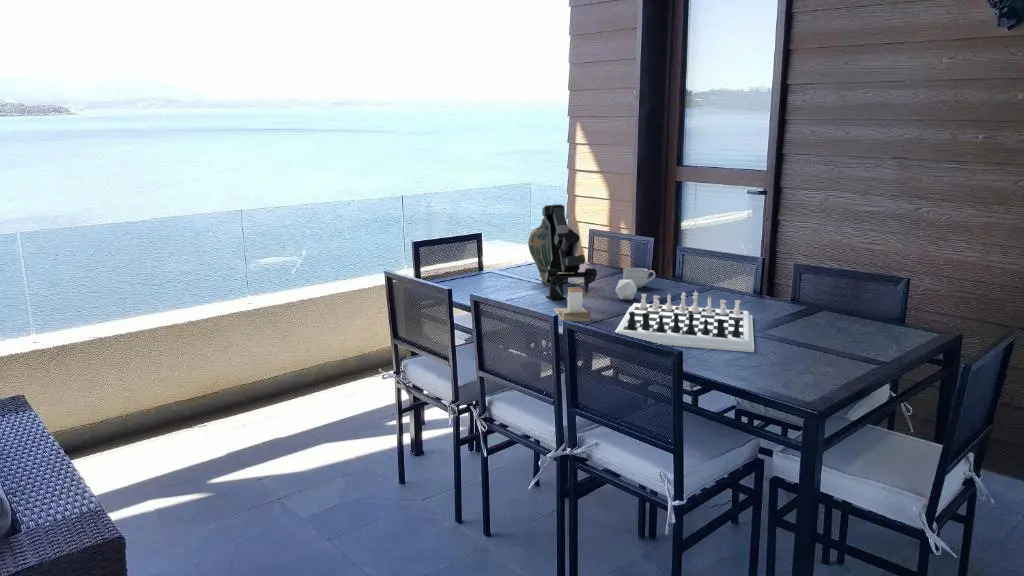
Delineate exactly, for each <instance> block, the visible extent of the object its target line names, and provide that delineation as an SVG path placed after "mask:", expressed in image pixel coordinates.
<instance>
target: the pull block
mask: <svg viewBox="0 0 1024 576" xmlns="http://www.w3.org/2000/svg"><path fill="white" fill-rule="evenodd" d="M583 289H584V288H582V287H581V286H568V287H567V307H566V309H567V313H568V312H582V308H583V293H584V292H583V291H584V290H583Z"/></svg>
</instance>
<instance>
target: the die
mask: <svg viewBox="0 0 1024 576" xmlns="http://www.w3.org/2000/svg"><path fill="white" fill-rule="evenodd" d="M637 290H638V288H637V287H636V286H635V284H634V282H633V281H632V280H623V279H619V280H618V282H617V286H616V288H615V290H614V291H615V292H616V295H617V296H618V299H619V300H633V299H634V297H635V295H636V293H637Z"/></svg>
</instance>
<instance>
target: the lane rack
mask: <svg viewBox="0 0 1024 576" xmlns="http://www.w3.org/2000/svg"><path fill="white" fill-rule="evenodd" d="M553 310H554V311H555V313H556V314H557V315H558V316H559V318H561V320H562V321H563V320H567V321H566V322H586V321H588V322H589V321H590V322H591V321H592V320H591V311H587V310H586V309H585V308H584V307H582V312H568V313H567V308H561V307H560V308H559V307H558V308H553Z"/></svg>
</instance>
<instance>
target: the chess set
mask: <svg viewBox="0 0 1024 576" xmlns="http://www.w3.org/2000/svg"><path fill="white" fill-rule="evenodd" d="M686 295H687V293H685V291H683V292H682V293H681V296H680V298H681V301H680V305H673V304H672V301H671V300H672V299H671V298H672V295H671V293H670V292H668V295H667V298H666V299H667V303H666V304H660V298H661V297H660V295H653V296H652V297H653V298H652V299H653V302H652V303H647V301H646V299H647V293H641V299H640V301H641V302H640V303H638V302H633V303H632V305H631V306H629V308H628V310H627V311H626V312H625V315H624V316H623V317H622V320H620V322H619V324H618V326H617V328H616V329H615V331H614V332H616V333H619V334H623V335H627V336H630V337H634V338H639V339H643V340H647V341H651V342H654V343H658V344H657V345H660V344H662V346H672V345H673V346H674V347H683V348H684V347H686V348H697V349H707V350H709V349H710V350H721V351H733V352H745V353H747V352H748V353H754V352H755V343H754V341H755V339H754V326H753V325H754V324H753V323H754V321H753V314H750V311H748V310H741V309H740V303H741V300H738V299H737V300H736V299H735V300H734V309H727V305H726V303H727V302H728V301H727V300H725V299H720V300H719V304H720V306H719V308H713V307H712V298H711V295H708V298H707V306H706V307H699V306H698V304H699V303H698V298H699V296H698V295H699V293H697V290H694V292H692V295H693V296H692V298H693V303H692V305H691V306H687V305H686V302H685V301H686V298H687V297H686ZM673 346H672V347H673Z"/></svg>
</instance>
